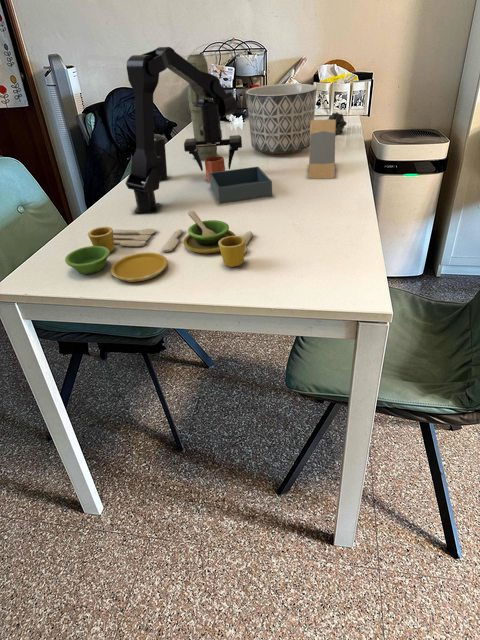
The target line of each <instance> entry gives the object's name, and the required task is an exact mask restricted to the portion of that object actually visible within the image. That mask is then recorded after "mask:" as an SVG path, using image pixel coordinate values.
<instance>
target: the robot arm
mask: <svg viewBox="0 0 480 640" xmlns="http://www.w3.org/2000/svg"><path fill="white" fill-rule="evenodd" d="M167 69H168V70H169V71H171V72H173V74H175V75H177V76H178V77H179V78H181V79H183V81H185V82H187V83H188V85H189V84H190V85H191V88H192V90H193V91H194V92H195V93H196V94H197V95H198V96H202V97H205V98H212V99H205V98H199V100H198V102H197V103H196V105H195V106H196V107H201V115H202V126H200V135H201V136H204V141H197V138H194V137H193V138H186V139H185V140H184V143H183V148H184V149H183V150H184V152H185V153H188V155H192V156H193V158H194V159H195V161H196V163H197V165H198V167H199V169H200V171H201V172H203V171H204V169H203V161H202V160H201V157H200V152H199V147H210V146H217V147H224V146H228V162H227V163H228V164H227V165H228V167H227V168H228V170H231V165H232V162H233V158H234V155H235V153H236V152H237V151H239V149H242V148H243V140H242V136H241V135H240V134H237V135H236V134H235V135H229V138H223V132H222V131H223V130H222V128H221V127H222V126H221V118H225V117H227V116H230V115H235V113H236V112H237V111H238V105H239V104H238V102H237V100H236V98H235V97H234V96H233V92H232V91H226V90H225V89H224V87H223V86H222V83H221V80H220V78H219V77H218V76H216V75H214V74H211V73H209V72H208V73H206V72H202V71H200V70H199V69H197V68H196V67H195V66H193V65H192V64H191V63H189V62H188V61H187V59H186V58H184V57H183V56H182V55H180V54H179V53H177V52H176V50H175V49H174V48H172V47H170V46H159V47H157V48H155V49H153V50H151V51H148V52H145V53H142V54H133V55H131V56H130V57H129V58H128V59H127V61H126V72H127V79H128V83H129V84H130V87H131V88H132V91H133V94H134V114H135V115H134V117H135V118H134V119H135V121H134V122H135V146H136V147H135V152H134V154H133V156H132V158H131V165H130V172H129V174H128V176H127V178H126V181H125V186H126V187H127V189H128V190H133V195H134V199H135V205H136V208H135V210H134V214H150V213H157V212H158V209H159V207H160V202H157V200H156V194H155V191H157V190H159V189H160V182H161V181H160V177H161V172H163V170H162V158H161V157H158V156H157V155H156V153H155V151H154V134H155V123H154V120H155V119H154V93H155V91H156V90H157V87H158V85H159V81H160V80H159V79H160V73H162V72H164V71H165V70H167ZM207 143H211V144H207Z"/></svg>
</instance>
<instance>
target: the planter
mask: <svg viewBox="0 0 480 640" xmlns="http://www.w3.org/2000/svg"><path fill="white" fill-rule="evenodd" d="M317 90H318V89H317V86H316V85H314V84H309V83H278V84H277V83H276V84H268V85H261V86H256V87H251V88H249V89H247V90H246V91H245V96H246V106H247V114H248V123H249V133H250V141H251V143H250V144H251V147H252V149H254V150H256V151H258V152H262V153H263V154H265V155H268V156H274V157H275V156H279V157H280V156H281V157H282V156H290V155H295V154H298V153H300V152H301V151H302V150H305V149H308V148H310V124H311V120H315V114H316V113H315V112H316V101H317Z"/></svg>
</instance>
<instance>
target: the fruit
mask: <svg viewBox="0 0 480 640" xmlns="http://www.w3.org/2000/svg"><path fill="white" fill-rule="evenodd" d="M327 120H336V133H335V135H336V134H337V135H339V134H342V133H343V130H344V129H345V127H346V126H347V123H348V122H347V121H345V118H344V115H343V113H339V112H332V113H331V115H329V116H328V119H327Z"/></svg>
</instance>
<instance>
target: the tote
mask: <svg viewBox="0 0 480 640" xmlns="http://www.w3.org/2000/svg"><path fill="white" fill-rule="evenodd" d="M209 176H210V181H209V182H210V185H209V186H210V189H211V190H212V192H213V194H214V196H215V198H216V200H217V202H218V203H219V204H220V205H221V204H229V203H236V202H241V201H250V200H256V199H262V198H264V199H265V198H270V197H273V181H272V180H271V178H269V176H267V174H266V173H265V172H264V171H263V170H262V168H260V167H259V166H251V167H245V168H237V169H228V170H225V171H221V172H213V173H209Z"/></svg>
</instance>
